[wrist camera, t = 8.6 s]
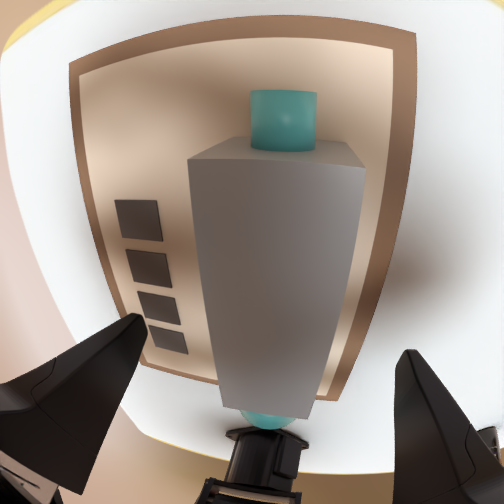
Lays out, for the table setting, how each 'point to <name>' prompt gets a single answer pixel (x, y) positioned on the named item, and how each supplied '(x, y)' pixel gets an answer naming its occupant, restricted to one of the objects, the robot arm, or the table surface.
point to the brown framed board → (218, 130)
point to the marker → (275, 254)
